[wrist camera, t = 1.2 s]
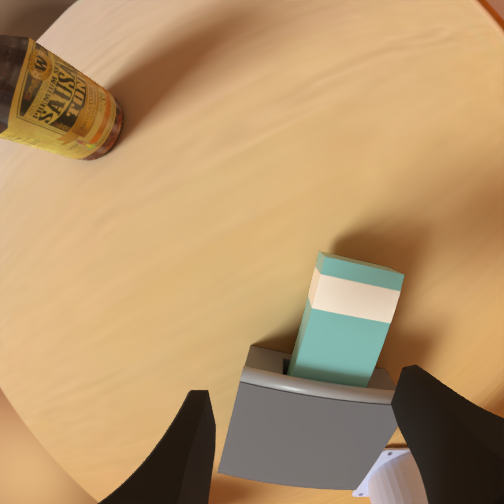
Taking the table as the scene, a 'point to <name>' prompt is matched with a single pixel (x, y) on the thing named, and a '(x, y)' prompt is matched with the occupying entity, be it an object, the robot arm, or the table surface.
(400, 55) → the table surface
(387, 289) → the teal long block
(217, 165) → the table surface
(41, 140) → the sauce bottle
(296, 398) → the dispenser
